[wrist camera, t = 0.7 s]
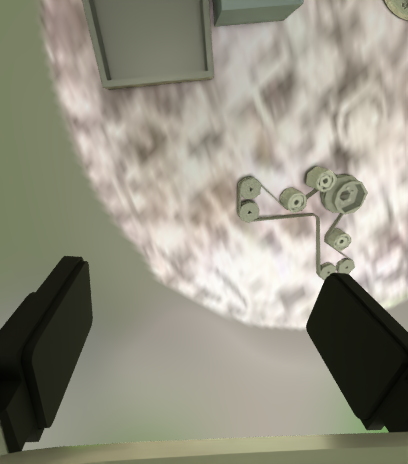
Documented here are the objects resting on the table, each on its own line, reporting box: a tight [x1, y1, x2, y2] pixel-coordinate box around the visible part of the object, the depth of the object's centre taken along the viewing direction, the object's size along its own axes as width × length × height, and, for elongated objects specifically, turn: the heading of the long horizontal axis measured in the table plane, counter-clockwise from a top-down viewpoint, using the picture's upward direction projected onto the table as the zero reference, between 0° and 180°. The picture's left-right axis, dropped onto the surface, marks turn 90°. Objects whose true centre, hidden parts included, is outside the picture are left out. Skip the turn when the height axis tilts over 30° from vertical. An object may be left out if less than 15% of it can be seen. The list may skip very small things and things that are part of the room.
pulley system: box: [237, 166, 368, 280], centre depth 39 cm, size 27×5×15 cm
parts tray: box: [82, 0, 214, 90], centre depth 26 cm, size 12×12×3 cm
